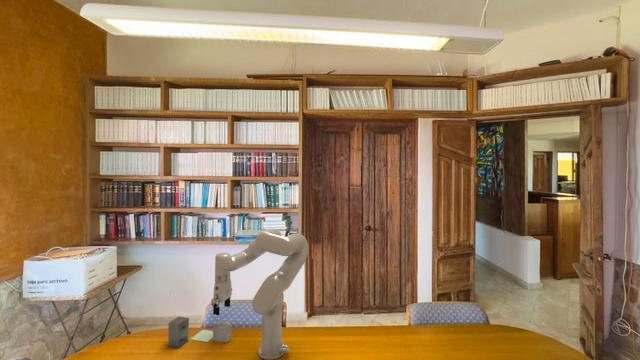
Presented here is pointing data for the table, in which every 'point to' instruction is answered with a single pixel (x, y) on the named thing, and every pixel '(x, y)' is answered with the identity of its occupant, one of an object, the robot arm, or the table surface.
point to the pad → (203, 336)
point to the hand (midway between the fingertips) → (221, 310)
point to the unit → (178, 332)
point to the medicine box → (222, 332)
